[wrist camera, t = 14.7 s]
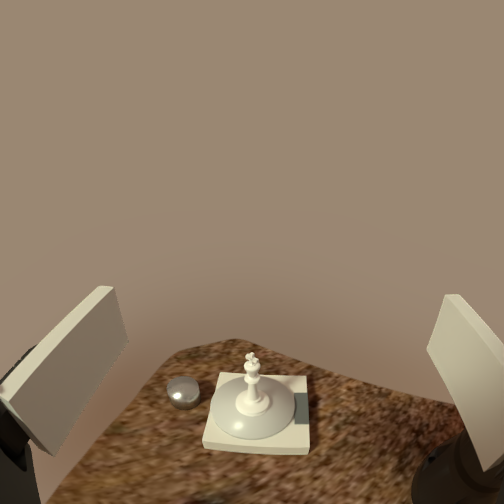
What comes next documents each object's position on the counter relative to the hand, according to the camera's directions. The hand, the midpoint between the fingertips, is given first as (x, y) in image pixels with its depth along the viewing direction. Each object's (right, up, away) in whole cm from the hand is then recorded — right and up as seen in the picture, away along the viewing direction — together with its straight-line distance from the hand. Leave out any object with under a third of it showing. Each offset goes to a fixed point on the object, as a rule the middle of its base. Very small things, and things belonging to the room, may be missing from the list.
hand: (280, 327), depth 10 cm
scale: (0, -22, +27) cm, 35 cm away
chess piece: (-1, -19, +26) cm, 33 cm away
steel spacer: (-12, -21, +30) cm, 39 cm away
